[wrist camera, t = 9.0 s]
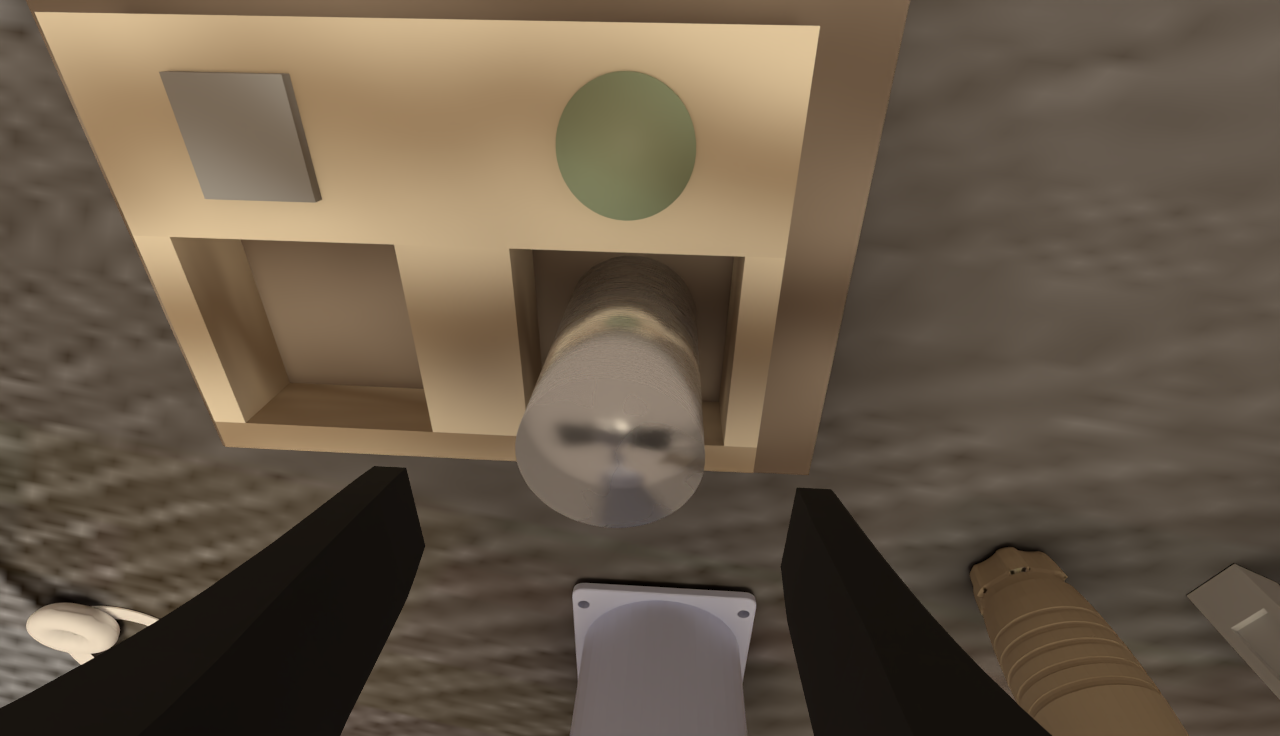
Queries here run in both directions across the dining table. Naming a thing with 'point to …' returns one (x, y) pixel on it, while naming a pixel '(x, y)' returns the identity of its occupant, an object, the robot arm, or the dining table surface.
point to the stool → (1245, 618)
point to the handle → (1064, 653)
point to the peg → (618, 400)
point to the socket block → (482, 198)
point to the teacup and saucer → (81, 627)
